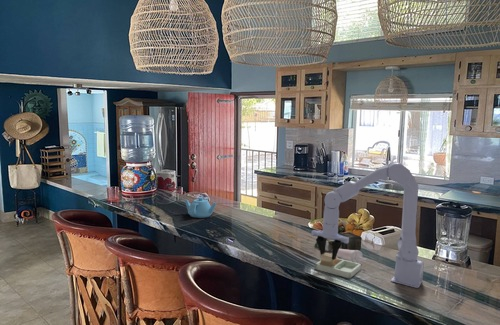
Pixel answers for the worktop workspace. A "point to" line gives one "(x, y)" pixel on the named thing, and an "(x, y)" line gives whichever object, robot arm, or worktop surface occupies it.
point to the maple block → (327, 259)
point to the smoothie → (350, 255)
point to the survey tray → (340, 268)
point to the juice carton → (352, 245)
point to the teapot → (200, 208)
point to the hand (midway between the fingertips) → (328, 257)
